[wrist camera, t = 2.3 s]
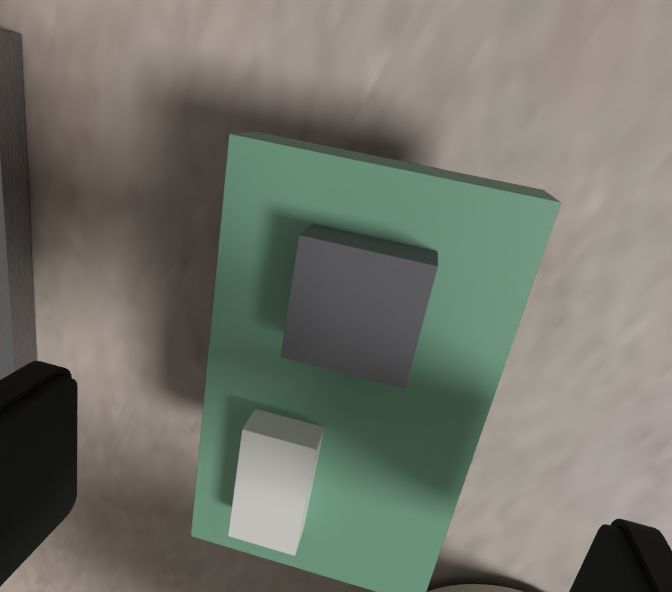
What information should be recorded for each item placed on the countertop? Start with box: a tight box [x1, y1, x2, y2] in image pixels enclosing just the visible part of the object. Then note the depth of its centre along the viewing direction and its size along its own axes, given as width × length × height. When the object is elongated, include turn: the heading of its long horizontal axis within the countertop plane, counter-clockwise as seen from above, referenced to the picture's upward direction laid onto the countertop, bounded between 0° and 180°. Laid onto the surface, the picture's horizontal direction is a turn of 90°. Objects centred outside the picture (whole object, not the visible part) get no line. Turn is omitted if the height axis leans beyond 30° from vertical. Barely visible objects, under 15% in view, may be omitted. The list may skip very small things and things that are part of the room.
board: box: [191, 131, 561, 592], centre depth 11 cm, size 10×6×2 cm, turn 170°
